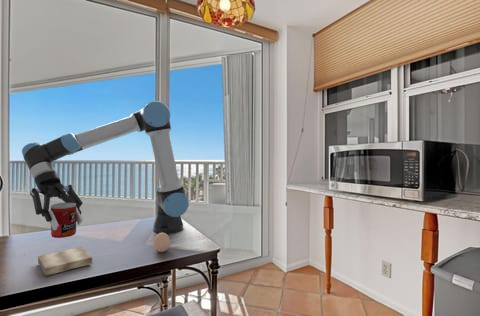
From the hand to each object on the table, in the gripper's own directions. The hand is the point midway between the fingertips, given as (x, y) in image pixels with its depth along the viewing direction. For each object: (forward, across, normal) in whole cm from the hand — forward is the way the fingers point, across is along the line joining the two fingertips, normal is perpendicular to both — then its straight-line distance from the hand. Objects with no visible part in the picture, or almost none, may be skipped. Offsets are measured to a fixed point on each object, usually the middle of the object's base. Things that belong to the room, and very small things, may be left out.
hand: (68, 225), depth 98 cm
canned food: (+1, 0, -6) cm, 6 cm away
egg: (+23, -28, +1) cm, 36 cm away
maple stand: (+8, 0, -13) cm, 15 cm away
